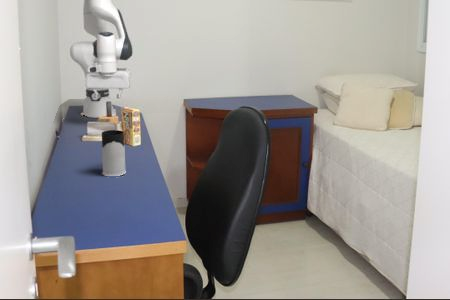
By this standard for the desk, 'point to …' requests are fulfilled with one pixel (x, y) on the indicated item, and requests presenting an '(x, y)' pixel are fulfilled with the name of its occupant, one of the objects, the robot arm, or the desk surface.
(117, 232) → the desk surface
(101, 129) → the press bed
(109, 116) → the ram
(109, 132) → the glass holder
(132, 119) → the candy box
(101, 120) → the housing
